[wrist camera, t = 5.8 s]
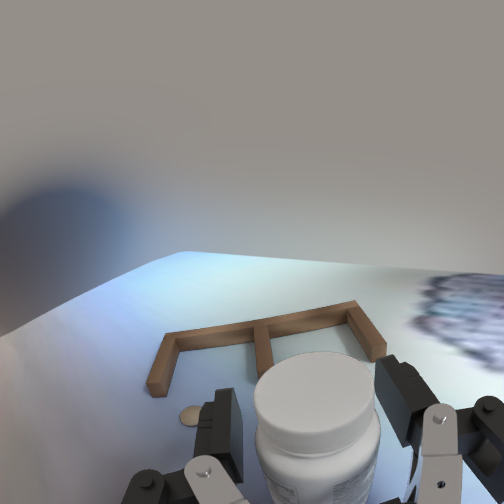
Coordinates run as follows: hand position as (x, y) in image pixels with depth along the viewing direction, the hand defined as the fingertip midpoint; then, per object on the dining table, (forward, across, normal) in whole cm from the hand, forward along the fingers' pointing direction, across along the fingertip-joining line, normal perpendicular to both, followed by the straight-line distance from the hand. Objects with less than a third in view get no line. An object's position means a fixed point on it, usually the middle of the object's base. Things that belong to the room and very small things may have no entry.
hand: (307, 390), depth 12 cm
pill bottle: (-2, 0, +6) cm, 7 cm away
